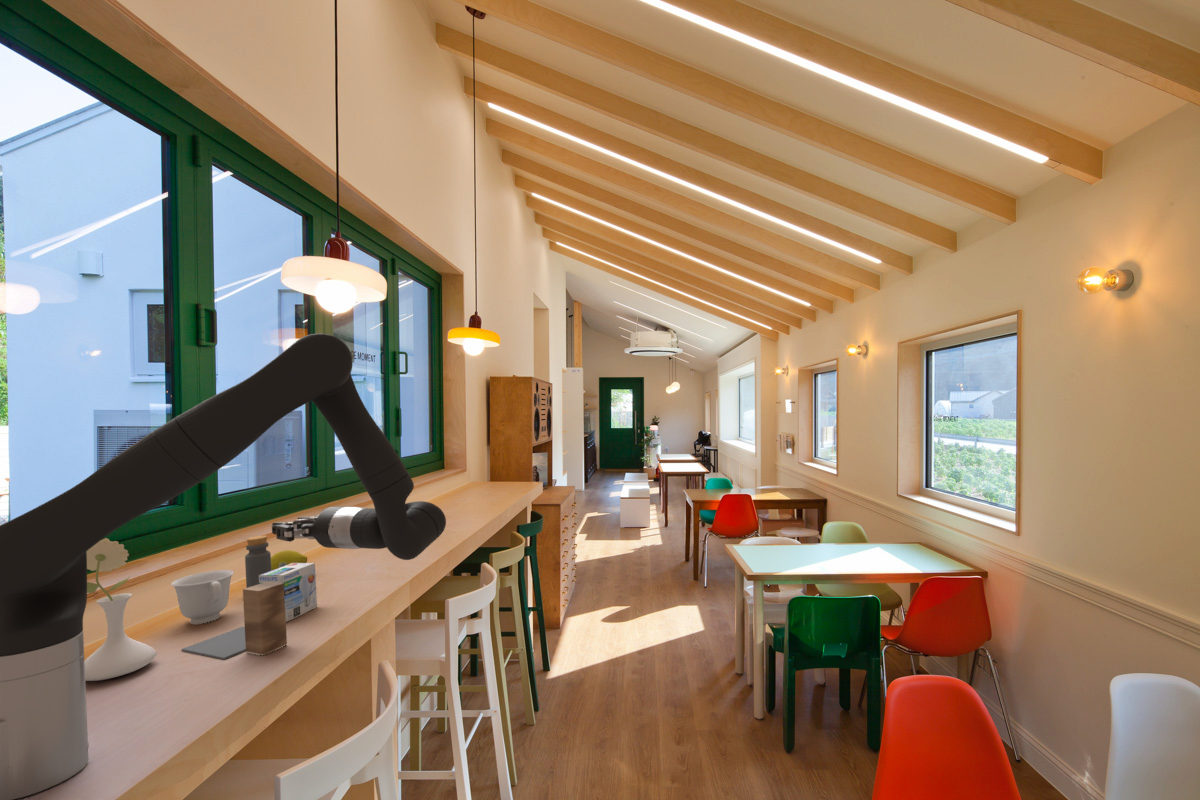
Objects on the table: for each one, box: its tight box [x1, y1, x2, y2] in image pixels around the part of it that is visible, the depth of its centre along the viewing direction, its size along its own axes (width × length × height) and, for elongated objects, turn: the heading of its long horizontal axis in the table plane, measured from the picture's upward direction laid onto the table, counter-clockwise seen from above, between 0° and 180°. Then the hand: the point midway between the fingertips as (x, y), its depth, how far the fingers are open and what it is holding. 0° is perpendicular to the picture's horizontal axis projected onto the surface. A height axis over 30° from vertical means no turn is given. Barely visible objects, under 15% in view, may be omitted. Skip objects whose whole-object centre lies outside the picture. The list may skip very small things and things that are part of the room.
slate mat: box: [181, 626, 246, 661], centre depth 114 cm, size 14×12×1 cm
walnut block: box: [242, 582, 288, 657], centre depth 110 cm, size 5×5×12 cm
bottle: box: [244, 535, 272, 588], centre depth 149 cm, size 6×6×15 cm
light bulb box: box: [259, 562, 318, 623], centre depth 130 cm, size 11×7×11 cm, turn 168°
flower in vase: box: [84, 537, 157, 682], centre depth 103 cm, size 13×11×25 cm
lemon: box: [271, 550, 308, 571], centre depth 163 cm, size 11×8×8 cm
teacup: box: [170, 569, 235, 625], centre depth 129 cm, size 12×15×10 cm
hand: (287, 525), depth 109 cm, fingers open, 4 cm apart
